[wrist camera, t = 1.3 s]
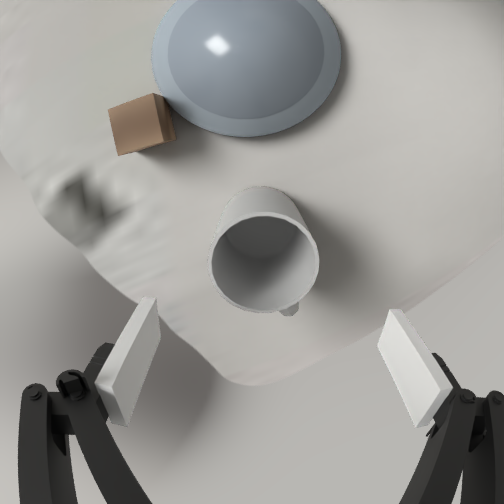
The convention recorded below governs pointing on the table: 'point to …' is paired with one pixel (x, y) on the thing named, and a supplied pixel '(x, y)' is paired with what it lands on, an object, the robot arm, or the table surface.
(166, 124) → the walnut block
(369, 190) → the table surface
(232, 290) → the cup
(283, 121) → the dish
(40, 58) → the table surface
